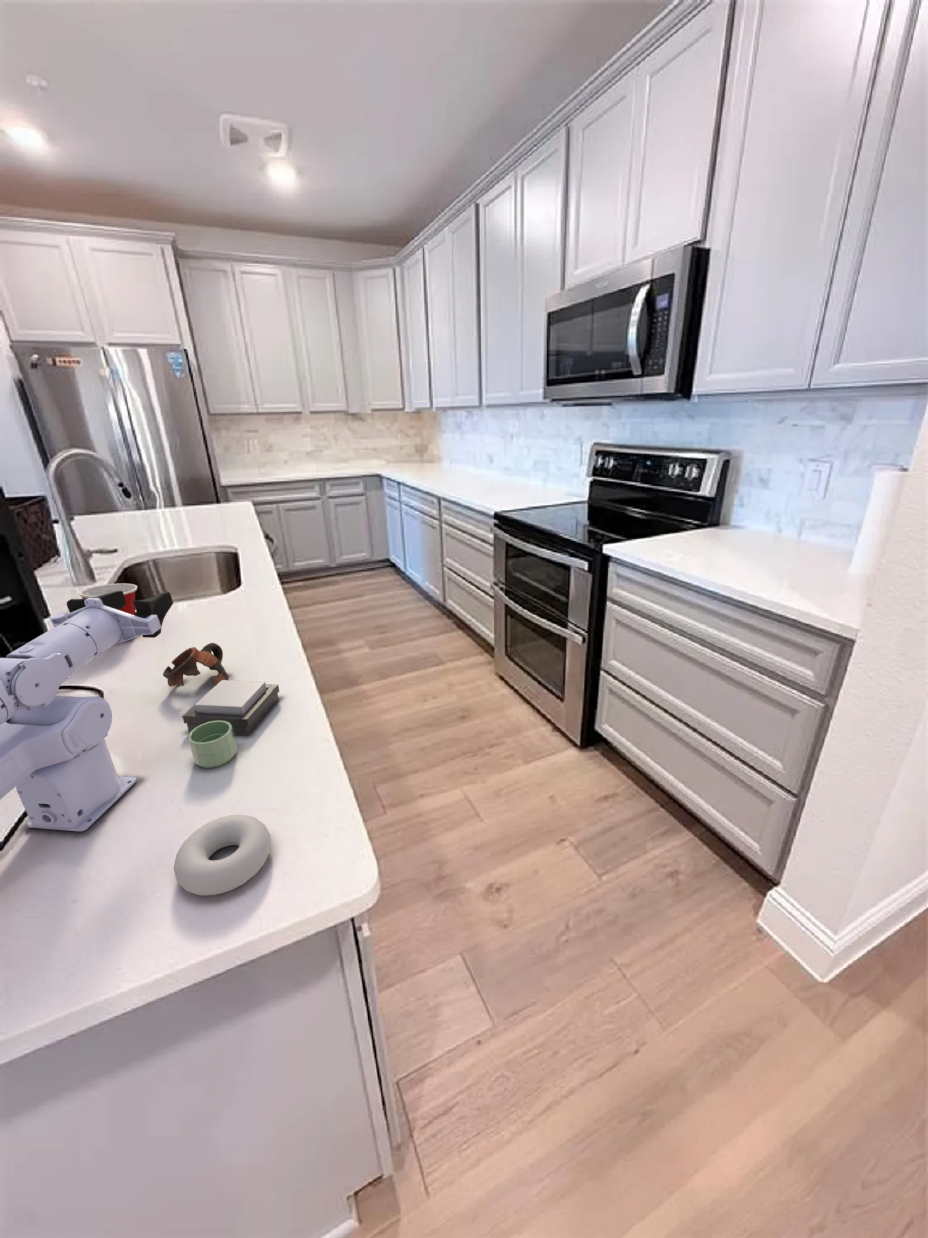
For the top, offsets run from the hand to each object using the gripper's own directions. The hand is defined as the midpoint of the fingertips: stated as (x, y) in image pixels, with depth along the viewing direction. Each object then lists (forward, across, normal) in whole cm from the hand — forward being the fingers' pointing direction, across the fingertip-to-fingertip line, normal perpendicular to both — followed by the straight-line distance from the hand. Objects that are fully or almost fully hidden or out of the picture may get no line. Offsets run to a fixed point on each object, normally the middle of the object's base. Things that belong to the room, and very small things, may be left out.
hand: (145, 597), depth 77 cm
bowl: (-11, -12, +21) cm, 26 cm away
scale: (0, -9, +22) cm, 24 cm away
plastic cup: (+28, +34, +24) cm, 50 cm away
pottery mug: (+10, +3, +23) cm, 25 cm away
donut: (-29, -24, +20) cm, 42 cm away
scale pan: (0, -9, +19) cm, 21 cm away
